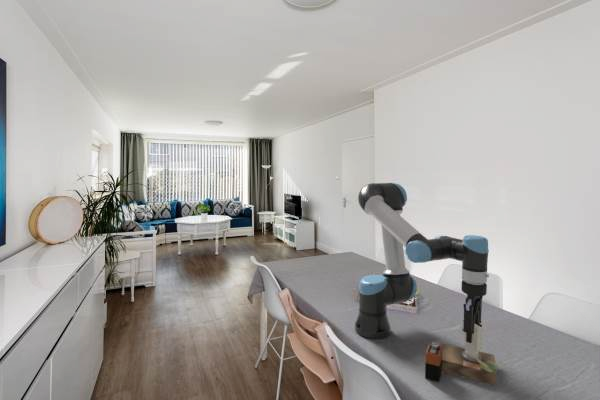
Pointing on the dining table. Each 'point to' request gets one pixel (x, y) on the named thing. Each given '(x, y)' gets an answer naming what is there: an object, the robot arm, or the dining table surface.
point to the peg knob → (475, 347)
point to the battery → (433, 362)
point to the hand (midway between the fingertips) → (471, 347)
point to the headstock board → (468, 364)
